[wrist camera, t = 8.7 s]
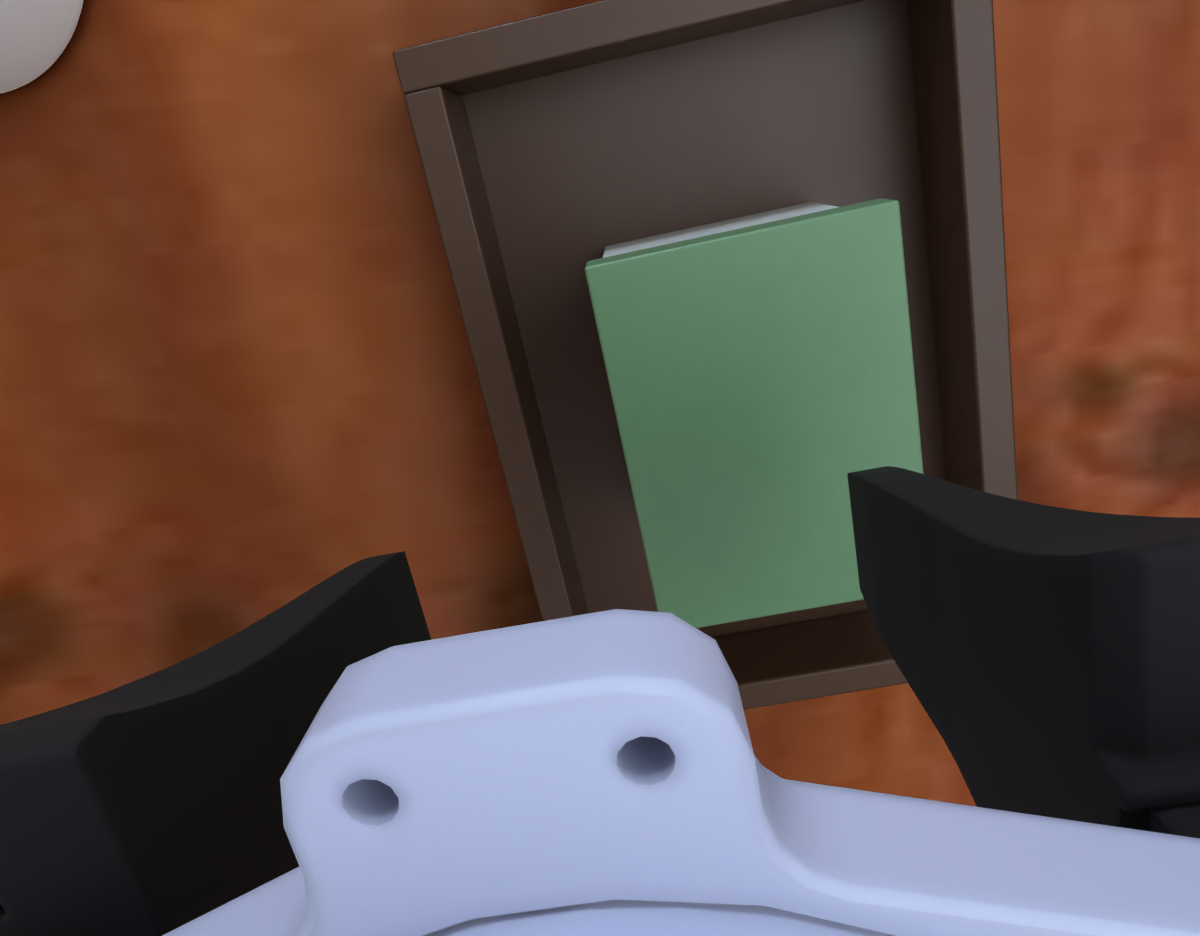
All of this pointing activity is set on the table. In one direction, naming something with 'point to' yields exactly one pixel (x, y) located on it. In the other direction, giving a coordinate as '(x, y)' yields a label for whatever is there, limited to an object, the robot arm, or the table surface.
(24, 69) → the can
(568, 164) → the tray
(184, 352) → the table surface
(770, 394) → the container
